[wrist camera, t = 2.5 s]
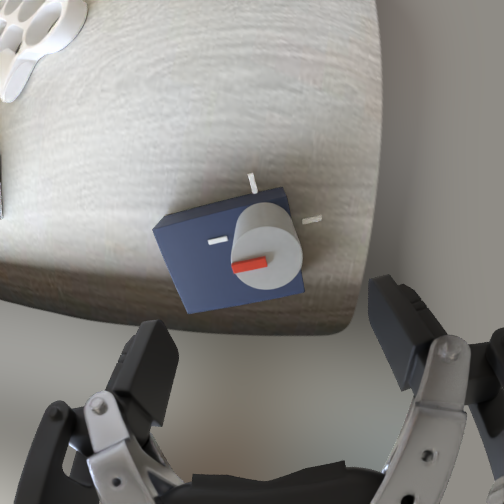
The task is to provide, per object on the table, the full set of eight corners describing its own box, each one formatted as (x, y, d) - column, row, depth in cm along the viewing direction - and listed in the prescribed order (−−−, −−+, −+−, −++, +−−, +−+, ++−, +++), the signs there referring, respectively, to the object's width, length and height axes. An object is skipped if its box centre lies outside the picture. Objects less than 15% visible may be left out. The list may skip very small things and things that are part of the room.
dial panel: (303, 155, 20) (311, 160, 17) (322, 268, 24) (330, 288, 21) (155, 193, 21) (141, 204, 18) (194, 294, 25) (187, 315, 23)
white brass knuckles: (-23, 64, 12) (37, -34, 7) (33, 114, 17) (118, -15, 12) (-41, 65, 9) (22, -40, 4) (10, 117, 14) (102, -28, 9)
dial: (286, 196, 18) (297, 220, 14) (297, 248, 20) (308, 284, 15) (229, 209, 19) (221, 237, 14) (243, 260, 20) (241, 298, 16)
